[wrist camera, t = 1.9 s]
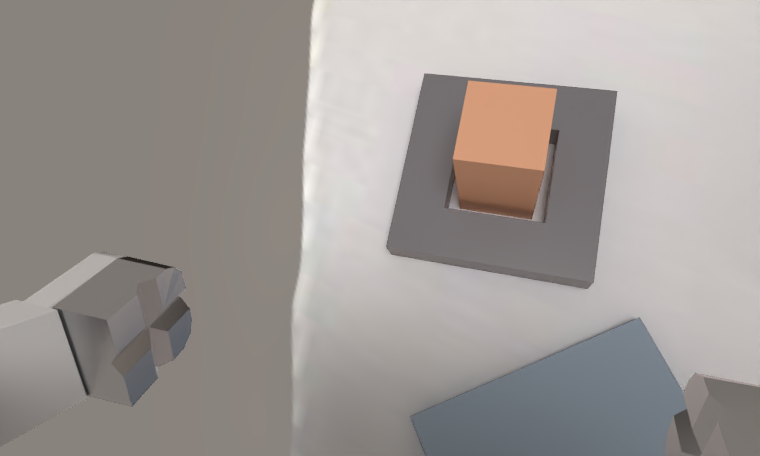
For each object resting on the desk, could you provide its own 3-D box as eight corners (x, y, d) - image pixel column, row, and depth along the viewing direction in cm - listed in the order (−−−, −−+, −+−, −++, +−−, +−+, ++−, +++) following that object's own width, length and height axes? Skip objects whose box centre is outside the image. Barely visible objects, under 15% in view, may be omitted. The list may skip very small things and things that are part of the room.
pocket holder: (427, 89, 38) (424, 73, 36) (610, 107, 35) (617, 91, 33) (391, 254, 35) (386, 246, 33) (587, 288, 32) (593, 282, 30)
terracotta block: (472, 145, 36) (468, 80, 28) (541, 153, 35) (557, 88, 27) (460, 208, 35) (452, 159, 27) (531, 219, 34) (544, 170, 26)
